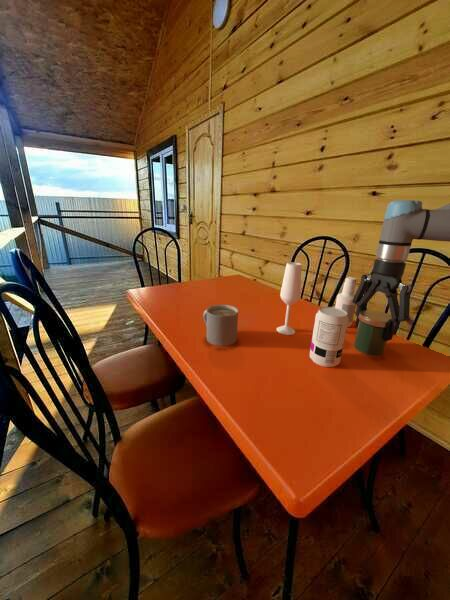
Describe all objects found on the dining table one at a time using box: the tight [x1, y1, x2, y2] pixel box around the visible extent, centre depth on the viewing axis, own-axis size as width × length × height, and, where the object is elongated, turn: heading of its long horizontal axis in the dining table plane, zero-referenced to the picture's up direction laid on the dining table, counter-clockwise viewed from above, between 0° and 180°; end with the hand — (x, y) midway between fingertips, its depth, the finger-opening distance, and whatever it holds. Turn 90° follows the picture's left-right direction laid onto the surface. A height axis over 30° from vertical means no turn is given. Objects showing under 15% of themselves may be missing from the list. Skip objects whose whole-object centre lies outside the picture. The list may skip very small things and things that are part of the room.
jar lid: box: [359, 309, 392, 328], centre depth 76 cm, size 9×9×2 cm
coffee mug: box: [202, 304, 239, 347], centre depth 83 cm, size 13×10×10 cm
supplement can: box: [308, 306, 349, 368], centre depth 70 cm, size 8×8×15 cm
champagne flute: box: [275, 261, 303, 336], centre depth 86 cm, size 7×7×24 cm
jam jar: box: [353, 320, 388, 357], centre depth 78 cm, size 8×8×10 cm
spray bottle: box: [334, 276, 357, 328], centre depth 94 cm, size 7×7×18 cm
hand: (372, 332), depth 78 cm, fingers closed on jar lid, 9 cm apart
